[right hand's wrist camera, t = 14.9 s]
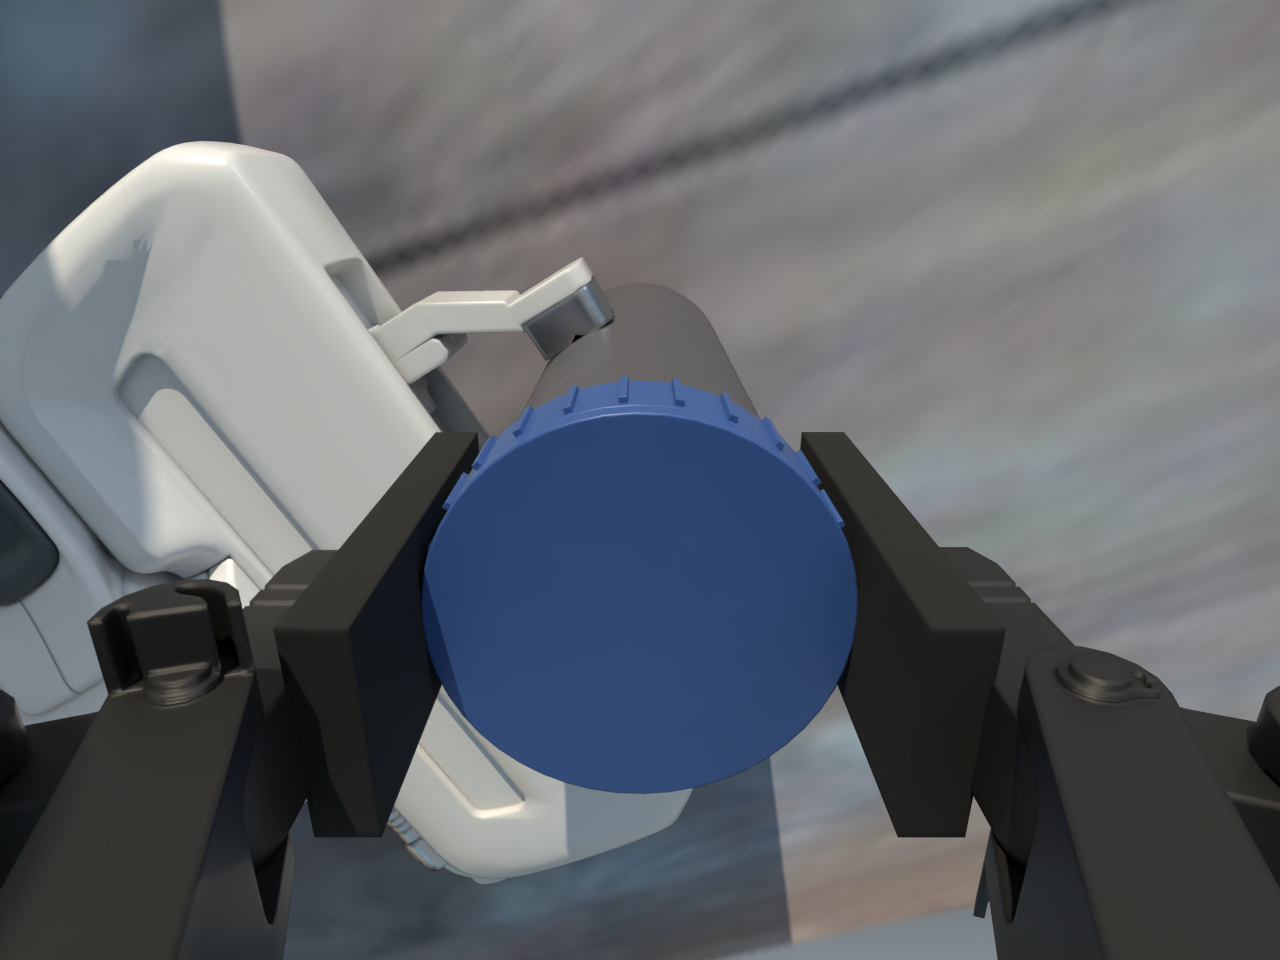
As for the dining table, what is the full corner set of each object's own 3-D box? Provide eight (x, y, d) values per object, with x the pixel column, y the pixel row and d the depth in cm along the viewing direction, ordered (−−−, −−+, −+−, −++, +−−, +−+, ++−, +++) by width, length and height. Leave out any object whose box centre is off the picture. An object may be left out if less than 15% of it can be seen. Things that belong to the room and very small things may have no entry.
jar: (581, 261, 23) (497, 371, 10) (744, 311, 24) (889, 483, 10) (539, 421, 25) (417, 708, 11) (692, 464, 26) (753, 788, 12)
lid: (362, 538, 12) (318, 593, 10) (675, 285, 10) (682, 303, 9) (611, 782, 13) (608, 861, 12) (908, 592, 12) (949, 652, 10)
